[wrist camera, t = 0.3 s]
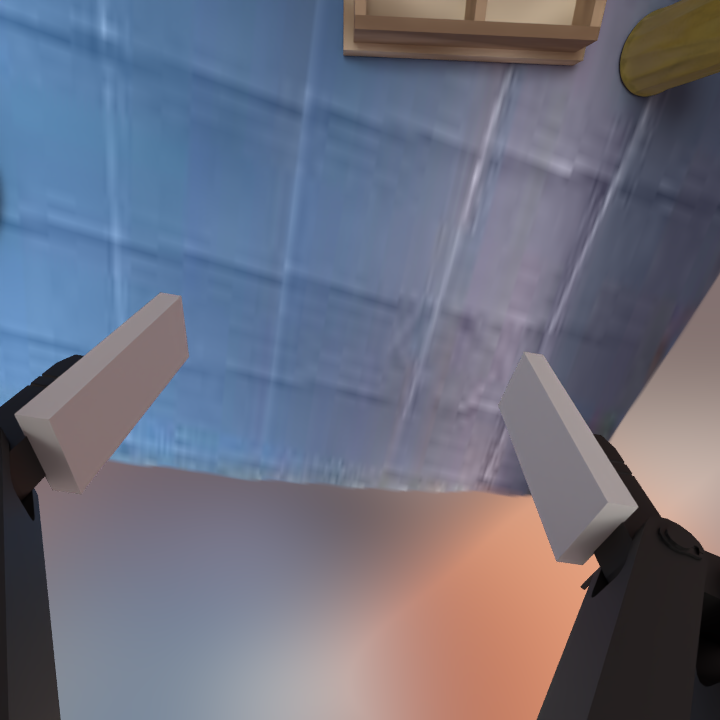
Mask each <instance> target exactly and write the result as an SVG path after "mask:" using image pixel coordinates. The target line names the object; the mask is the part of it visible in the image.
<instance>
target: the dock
mask: <svg viewBox="0 0 720 720" xmlns="http://www.w3.org/2000/svg"><path fill="white" fill-rule="evenodd" d="M606 1H607V0H344V42H343V55H346V56H369V57H392V58H414V59H437V60H460V61H483V62H505V63H528V64H551V65H575V64H577V63H579V62H581V61H583V57H584V53H585V49H586V46H588V45H590V44H592V43H593V42H595V41H597V39H598V35H599V31H600V27H601V22H602V18H603V14H604V9H605V5H606Z"/></svg>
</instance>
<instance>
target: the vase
mask: <svg viewBox="0 0 720 720" xmlns="http://www.w3.org/2000/svg"><path fill="white" fill-rule="evenodd" d="M718 72H720V0H681V1H679V2H677V3H675V4H673V5H670V6H667V7H665V8H661V9H658V10H656V11H654V12H652V13H650V14H648V15H647V16H646V17H644V18H643V19H642V20H641V21H640V22H639V23H638V24H637V25H636V26H635V28H634V29H633V30H632V32H631V33H630V35H629V37H628V38H627V40H626V42H625V44H624V47H623V50H622V54H621V59H620V74H621V78H622V81H623V83H624V85H625V86H626V87H627V89H628V90H629V91H630V92H631V93H633V94H635V95H638V96H643V97H647V96H652V95H656V94H658V93H661V92H663V91H665V90H667V89H670V88H673V87H676V86H679V85H682V84H685V83H689V82H692V81H695V80H697V79H700V78H703V77H706V76H709V75H712V74H715V73H718Z"/></svg>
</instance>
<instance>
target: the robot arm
mask: <svg viewBox="0 0 720 720" xmlns="http://www.w3.org/2000/svg"><path fill="white" fill-rule="evenodd" d="M188 357H189V353H188V345H187V337H186V329H185V322H184V314H183V306H182V298H181V296H178V295H172V294H166V293H159V294H158V295H157V296H156V297H155V298H153V299H152V300H151V301H150V302H149V303H147V304H146V305H145V306H144V307H143V308H141V309H140V310H139V311H138V312H137V313H135V314H134V315H133V316H132V317H131V318H129V319H128V320H127V321H126V322H125V323H123V324H122V325H121V326H120V327H119V328H117V329H116V330H115V331H114V332H113V333H111V334H110V335H109V336H108V337H107V338H105V339H104V340H103V341H102V342H100V343H99V344H98V345H97V346H96V347H94V348H93V349H92V350H91V351H90V352H88V353H87V354H86V355H85V356H81V355H73V356H71V357H69V358H66V359H64V360H62V361H60V362H58V363H56V364H54V365H53V366H52V367H51V368H49V369H48V370H47V371H45V372H44V373H43V374H42V376H39V377H38V378H37V379H35V380H34V381H33V382H31V385H30V386H29V385H28V386H26V387H25V388H24V389H23V390H21V391H20V392H19V393H17V394H16V395H15V396H14V397H12V398H11V399H10V400H8V401H7V402H6V403H5V404H3V405H2V406H1V407H0V720H61V719H60V709H59V700H58V690H57V680H56V670H55V661H54V650H53V640H52V630H51V620H50V611H49V600H48V590H47V580H46V571H45V560H44V551H43V542H42V531H41V521H40V511H39V501H38V495H37V493H36V491H35V489H34V487H35V486H36V485H37V484H38V483H39V482H40V481H41V480H42V479H43V478H44V477H46V479H47V481H48V483H49V485H50V487H51V489H52V490H55V491H62V492H69V493H76V494H82V493H83V491H84V490H85V489H86V487H87V486H88V485H89V484H90V483H91V481H92V480H93V479H94V477H95V476H96V475H97V474H98V472H99V471H100V470H101V468H102V467H103V466H104V465H105V463H106V462H107V461H108V460H109V458H110V457H111V456H112V454H113V453H114V452H115V451H116V449H117V448H118V447H119V445H120V444H121V443H122V442H123V440H124V439H125V438H126V436H127V435H128V434H129V433H130V431H131V430H132V429H133V428H134V426H135V425H136V424H137V422H138V421H139V420H140V419H141V417H142V416H143V415H144V413H145V412H146V411H147V410H148V408H149V407H150V406H151V405H152V403H153V402H154V401H155V399H156V398H157V397H158V396H159V394H160V393H161V392H162V390H163V389H164V388H165V387H166V385H167V384H168V383H169V382H170V380H171V379H172V378H173V376H174V375H175V374H176V373H177V371H178V370H179V369H180V367H181V366H182V365H183V364H184V362H185V361H186V360H187V359H188ZM498 406H499V409H500V412H501V414H502V417H503V420H504V422H505V425H506V428H507V430H508V433H509V436H510V438H511V441H512V444H513V446H514V449H515V452H516V454H517V457H518V460H519V462H520V465H521V468H522V470H523V473H524V476H525V478H526V481H527V484H528V486H529V489H530V492H531V494H532V497H533V500H534V502H535V505H536V508H537V511H538V513H539V516H540V518H541V521H542V524H543V526H544V529H545V532H546V534H547V537H548V540H549V543H550V545H551V548H552V551H553V553H554V556H555V559H556V561H557V562H565V563H571V564H578V565H583V564H584V563H585V562H586V561H587V560H588V559H589V558H590V557H591V556H592V555H593V554H595V556H596V559H597V561H598V563H599V565H600V567H599V568H598V569H597V570H596V571H595V572H594V573H593V574H592V575H591V576H590V577H589V578H588V579H587V580H586V581H585V582H584V583H583V584H582V586H581V588H582V589H584V590H585V589H586V588H587V587H588V586H589V587H588V590H587V593H586V595H585V598H584V600H583V603H582V605H581V608H580V610H579V613H578V615H577V618H576V621H575V623H574V626H573V628H572V631H571V633H570V636H569V639H568V641H567V644H566V646H565V649H564V651H563V654H562V657H561V659H560V661H559V664H558V667H557V669H556V672H555V674H554V677H553V679H552V682H551V684H550V687H549V690H548V692H547V695H546V698H545V700H544V702H543V705H542V707H541V710H540V713H539V715H538V718H537V720H720V557H719V556H716V555H714V554H711V553H709V552H707V551H704V549H703V548H702V546H701V544H700V543H699V542H698V541H697V540H696V538H695V537H694V536H693V535H692V534H691V533H690V532H688V531H687V530H685V529H684V528H683V527H681V526H680V525H678V524H677V523H675V522H672V521H670V520H669V519H666V518H662V517H661V516H660V515H659V513H658V512H657V510H656V509H655V507H654V506H653V504H652V503H651V501H650V500H649V498H648V497H647V495H646V494H645V492H644V491H643V489H642V488H641V486H640V485H639V483H638V482H637V480H636V479H635V477H634V476H632V473H631V471H630V470H629V468H628V467H627V465H625V464H624V461H623V459H622V458H621V456H620V455H619V453H618V452H617V450H616V449H615V448H614V447H613V446H612V445H611V444H610V443H609V442H608V441H607V440H606V439H605V438H604V437H602V436H601V435H596V434H592V432H591V430H590V429H589V427H588V426H587V424H586V423H585V421H584V419H583V418H582V416H581V415H580V413H579V411H578V410H577V408H576V407H575V405H574V403H573V402H572V400H571V399H570V397H569V395H568V394H567V392H566V391H565V389H564V388H563V386H562V384H561V383H560V381H559V380H558V378H557V376H556V375H555V373H554V372H553V370H552V368H551V367H550V365H549V364H548V362H547V360H546V359H545V357H544V356H543V355H540V354H534V353H528V352H523V355H522V357H521V359H520V361H519V363H518V365H517V367H516V369H515V371H514V373H513V375H512V377H511V379H510V382H509V384H508V386H507V388H506V390H505V392H504V394H503V396H502V398H501V400H500V402H499V404H498Z"/></svg>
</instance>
